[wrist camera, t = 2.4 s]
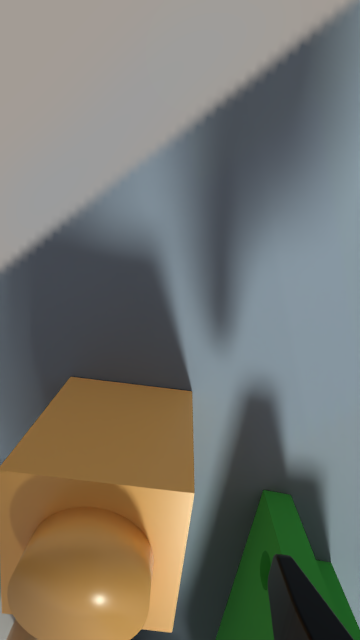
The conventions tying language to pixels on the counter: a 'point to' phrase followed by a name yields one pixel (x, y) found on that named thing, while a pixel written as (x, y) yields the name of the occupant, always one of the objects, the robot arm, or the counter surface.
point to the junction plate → (11, 626)
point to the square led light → (98, 512)
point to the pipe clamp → (252, 575)
